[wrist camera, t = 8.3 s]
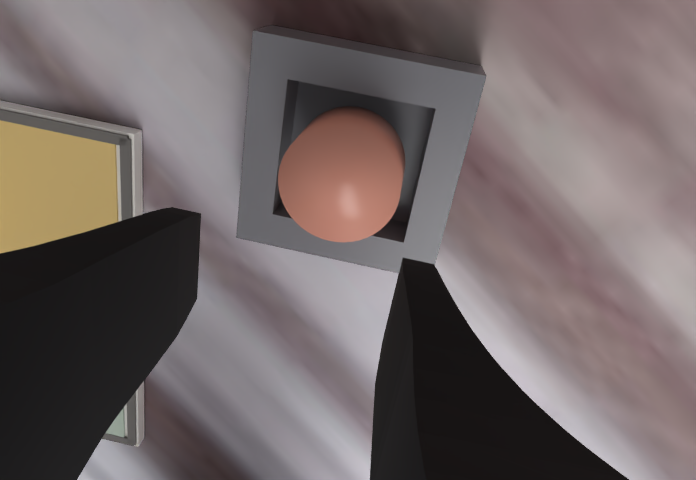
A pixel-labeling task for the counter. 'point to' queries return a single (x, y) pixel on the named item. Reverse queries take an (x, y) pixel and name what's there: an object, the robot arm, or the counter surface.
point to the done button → (343, 174)
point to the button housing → (369, 93)
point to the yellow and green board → (69, 194)
